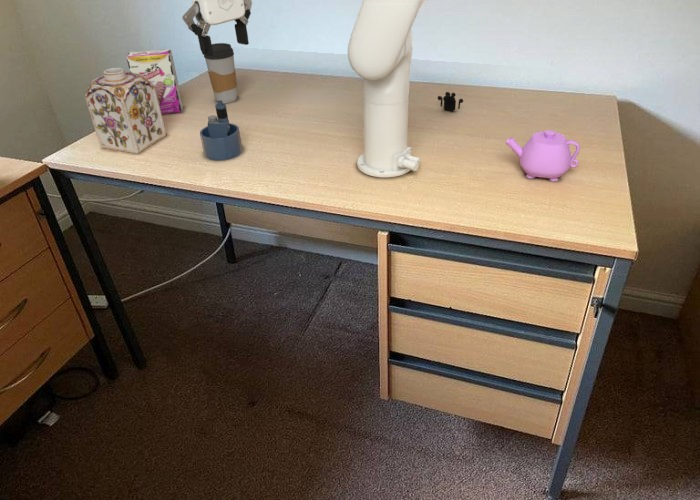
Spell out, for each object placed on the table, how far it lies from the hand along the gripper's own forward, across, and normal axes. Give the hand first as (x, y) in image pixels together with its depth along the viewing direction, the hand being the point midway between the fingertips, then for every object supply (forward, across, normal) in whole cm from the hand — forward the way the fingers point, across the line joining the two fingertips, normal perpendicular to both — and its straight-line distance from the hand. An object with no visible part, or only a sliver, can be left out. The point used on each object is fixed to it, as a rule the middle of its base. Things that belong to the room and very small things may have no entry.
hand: (226, 49), depth 117 cm
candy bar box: (+23, +2, +38) cm, 44 cm away
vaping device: (+23, -4, +2) cm, 23 cm away
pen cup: (+23, -4, +3) cm, 24 cm away
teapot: (+25, +30, -61) cm, 72 cm away
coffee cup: (+23, +19, +30) cm, 43 cm away
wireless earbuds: (+24, +48, -27) cm, 61 cm away
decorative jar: (+23, -14, +26) cm, 37 cm away
